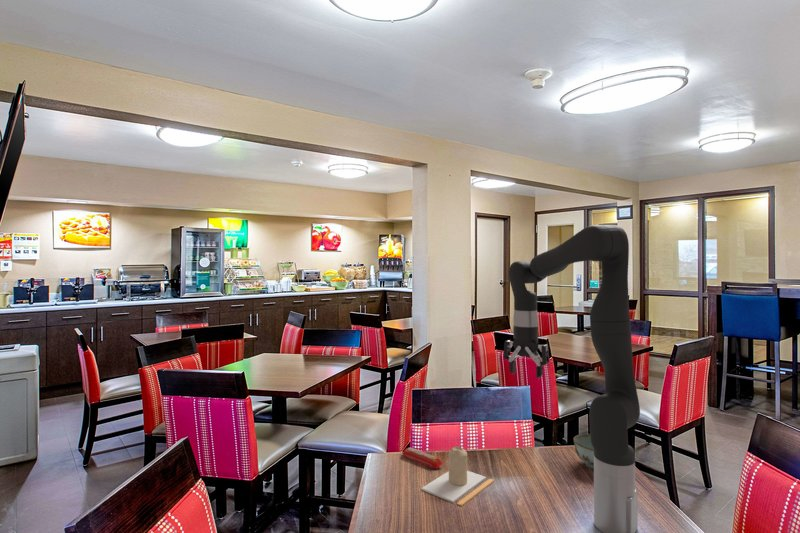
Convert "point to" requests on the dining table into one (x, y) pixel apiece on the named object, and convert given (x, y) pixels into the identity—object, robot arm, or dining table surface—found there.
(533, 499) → the dining table surface
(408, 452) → the candy bar
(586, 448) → the bowl
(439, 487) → the mat
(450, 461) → the candle
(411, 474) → the dining table surface
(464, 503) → the wooden stick
